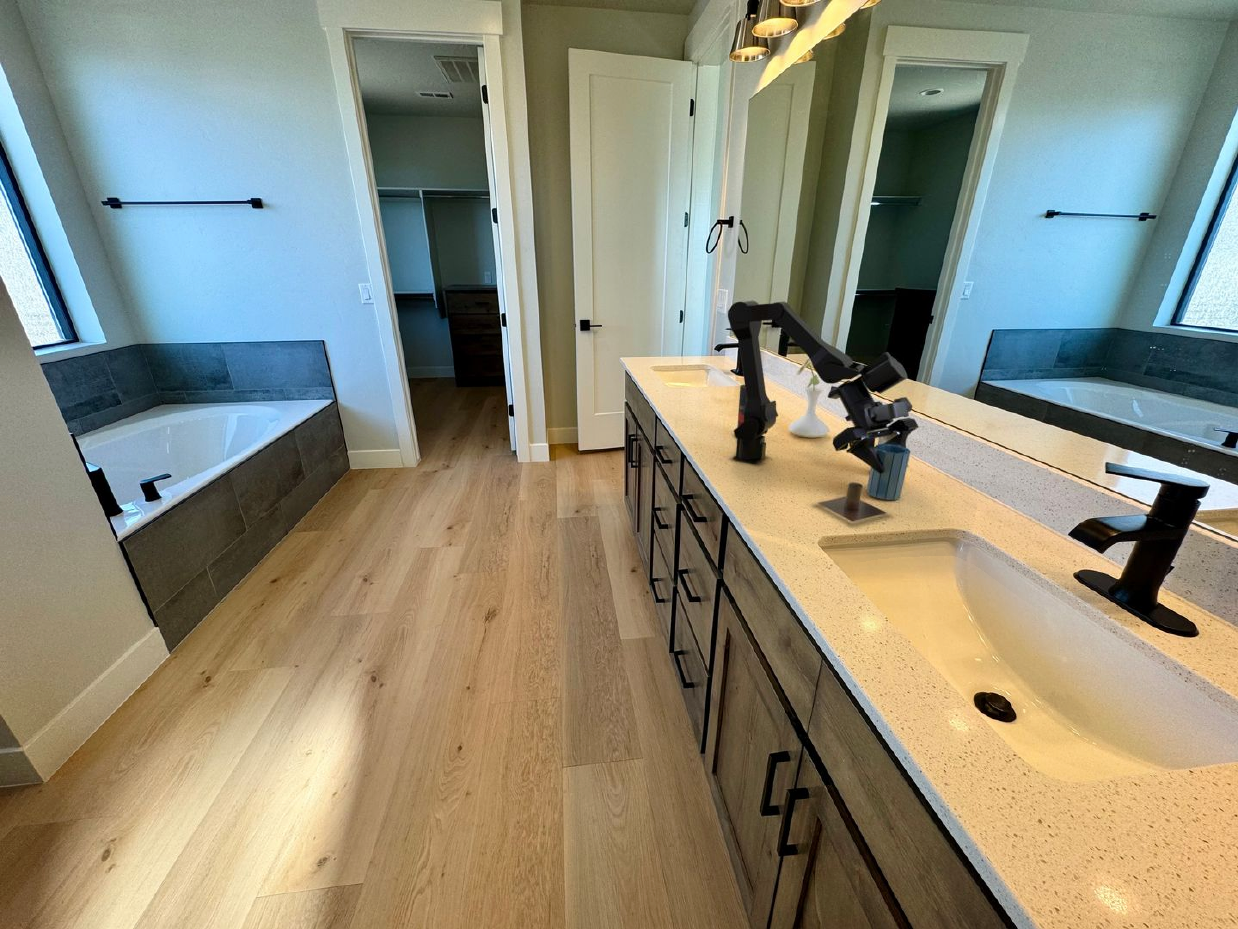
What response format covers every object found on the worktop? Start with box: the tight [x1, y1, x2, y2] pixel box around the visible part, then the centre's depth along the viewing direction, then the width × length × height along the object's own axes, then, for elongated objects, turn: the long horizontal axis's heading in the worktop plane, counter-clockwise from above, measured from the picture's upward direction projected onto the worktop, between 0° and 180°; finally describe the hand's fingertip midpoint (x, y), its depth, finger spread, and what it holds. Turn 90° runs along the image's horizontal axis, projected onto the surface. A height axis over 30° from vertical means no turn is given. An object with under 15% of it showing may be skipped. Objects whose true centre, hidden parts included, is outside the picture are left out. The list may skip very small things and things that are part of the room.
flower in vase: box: [788, 356, 830, 438], centre depth 141 cm, size 13×11×25 cm
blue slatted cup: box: [866, 444, 912, 501], centre depth 102 cm, size 6×6×10 cm
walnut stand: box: [817, 482, 887, 523], centre depth 98 cm, size 9×9×6 cm
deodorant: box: [736, 384, 747, 428], centre depth 143 cm, size 6×6×15 cm
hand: (894, 470), depth 101 cm, fingers closed on blue slatted cup, 6 cm apart
